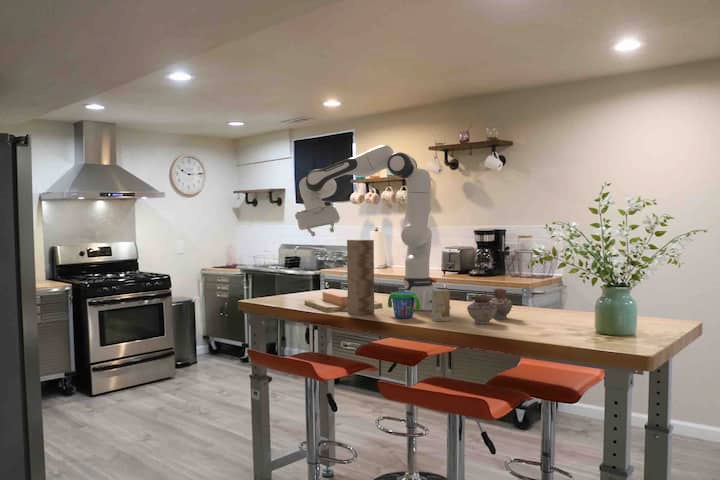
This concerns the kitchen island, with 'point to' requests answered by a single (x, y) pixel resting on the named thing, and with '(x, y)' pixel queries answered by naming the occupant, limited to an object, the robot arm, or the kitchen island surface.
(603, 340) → the kitchen island surface
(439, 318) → the skincare box
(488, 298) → the pottery
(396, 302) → the snack cup
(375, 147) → the robot arm
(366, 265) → the walnut stand
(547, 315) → the kitchen island surface
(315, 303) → the oak base board
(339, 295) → the terracotta rail
